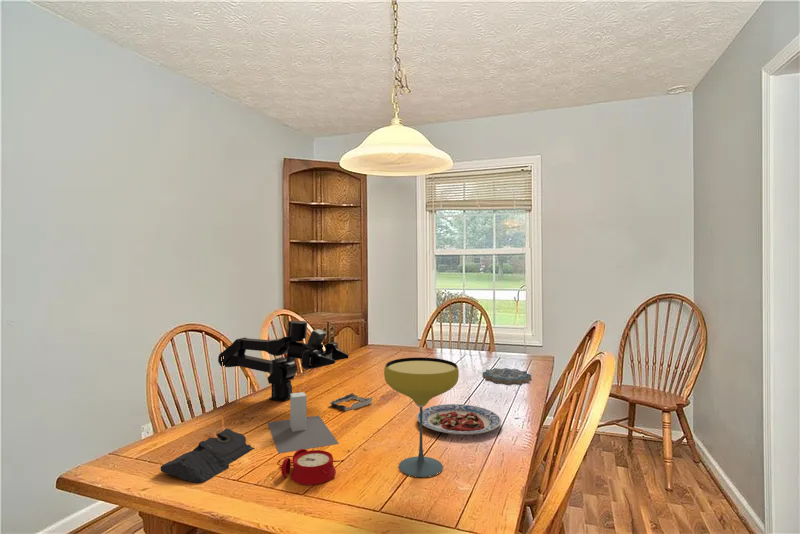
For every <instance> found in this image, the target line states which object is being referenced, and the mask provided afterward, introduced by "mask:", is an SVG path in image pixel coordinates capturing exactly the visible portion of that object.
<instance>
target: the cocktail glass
mask: <svg viewBox="0 0 800 534" xmlns="http://www.w3.org/2000/svg"><path fill="white" fill-rule="evenodd" d="M383 373H384V374H383V375H384V377H383V378H384V381H385V382H386V383H387V385H388V386H389V387H390V388H391V389H392V390H394V391H396V392H397V393H400V394H402V395H404V396H406V397H408V398H410V399H411V400H412V401H413V402H414V404H415V405H416V406H417V407H418V408H419V412H420V423H419V443H418V444H419V445H418V446H419V449H418V456H417V455H416V456H411V457H407V458H404V459H403V460H401V461H400V462H399V464H398V469H399V471H400V470H401V471H402V472H403V474H404V473H405V474H404V475H406V474H407V475H406V476H408V475H410V476H409V477H412V476H416V477H415V478H418V477H427V478H430V477H429V476H432V477H434V476H433V475H436V474H437V473H439V472H441V471H442V472H443V470H444V465H443V463H442V462H441V461H439V460H438V459H436V458H433V457H428V456H424V452H423V451H424V449H423V448H424V447H423V425H422V410H423V408H425V406H426V405H428V403H429V401H430V400H432V399H433V398H436V397H437V396H438V397H439V396H440V395H442V394H445V393H447V392H449V391H451V389H453V388H454V387H455V386H456V385H457V383H458V382H459V377H460V371H459V367H458V365H457V364H456V363H455V362H453V361H450V360H447V359H443V358H437V357H421V356H420V357H419V356H418V357H405V358H404V357H403V358H397V359H393V360H390V361H388V362H386V364H385V365H384V369H383ZM442 469H443V470H442ZM401 471H400V472H401ZM402 472H401V473H402ZM442 472H441V473H442ZM439 474H440V473H439ZM436 476H437V475H436Z"/></svg>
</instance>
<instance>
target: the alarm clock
mask: <svg viewBox="0 0 800 534" xmlns="http://www.w3.org/2000/svg"><path fill="white" fill-rule="evenodd" d="M291 458H292V461H291ZM282 460H283V461H282ZM281 461H282V463H281V464H280V462H281ZM340 462H342V463H343V462H344V460H343V459H341V460H334V456H333V454H332V453H330V452H329V451H325V450H318V449H317V450H316V449H315V450H308V449H300V450H298V451H294V454H293V455H288V456H284V457H282V458H281V459H279V460H278V461H277V462H276V465H278V466H279V468H280V469H281V470H280V472H281V476H282V477H283V478H285V479H286V478H288V477H287V474H290V480H291V481H293V482H294V483H296V484H299V485H304V486H305V485H306V486H314V485H320V484H324V483H326V482H329V481H330V480H334V479H335V475H336V474H337V473H336V468H335V466H334V463H340ZM291 467H292V470H291Z"/></svg>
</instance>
